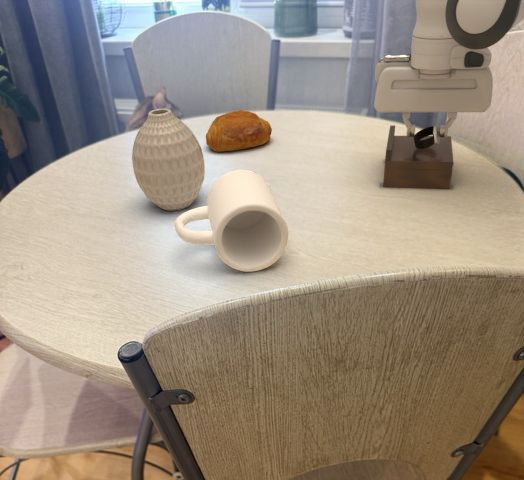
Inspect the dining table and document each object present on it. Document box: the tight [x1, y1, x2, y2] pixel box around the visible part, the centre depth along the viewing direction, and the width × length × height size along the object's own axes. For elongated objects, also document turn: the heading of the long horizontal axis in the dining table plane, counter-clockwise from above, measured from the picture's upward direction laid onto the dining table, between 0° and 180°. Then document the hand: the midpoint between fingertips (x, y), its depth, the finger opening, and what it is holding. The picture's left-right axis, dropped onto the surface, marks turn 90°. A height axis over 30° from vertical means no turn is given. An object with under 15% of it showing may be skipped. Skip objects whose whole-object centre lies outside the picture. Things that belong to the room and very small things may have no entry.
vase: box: [131, 108, 206, 212], centre depth 96 cm, size 13×13×17 cm
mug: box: [174, 169, 289, 273], centre depth 82 cm, size 16×14×11 cm
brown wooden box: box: [382, 124, 454, 190], centre depth 103 cm, size 12×14×7 cm
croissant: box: [205, 109, 273, 153], centre depth 124 cm, size 14×16×8 cm
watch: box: [414, 124, 440, 149], centre depth 100 cm, size 8×5×4 cm, turn 158°
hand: (426, 136), depth 100 cm, fingers closed on watch, 4 cm apart
